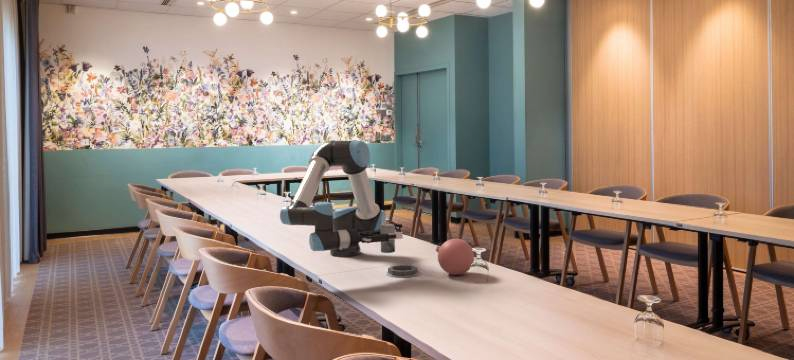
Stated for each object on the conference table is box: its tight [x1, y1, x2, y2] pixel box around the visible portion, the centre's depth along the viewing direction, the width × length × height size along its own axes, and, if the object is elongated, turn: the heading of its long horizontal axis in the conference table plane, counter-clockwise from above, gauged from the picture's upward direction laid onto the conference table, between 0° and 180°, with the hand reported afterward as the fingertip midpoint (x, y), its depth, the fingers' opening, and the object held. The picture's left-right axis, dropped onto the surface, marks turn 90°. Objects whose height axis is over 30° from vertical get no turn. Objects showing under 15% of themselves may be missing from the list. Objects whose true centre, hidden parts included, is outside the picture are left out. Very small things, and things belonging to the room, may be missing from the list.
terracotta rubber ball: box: [435, 238, 475, 276], centre depth 265 cm, size 15×20×15 cm
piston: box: [380, 223, 396, 254], centre depth 261 cm, size 6×6×11 cm
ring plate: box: [386, 264, 420, 279], centre depth 266 cm, size 14×14×2 cm
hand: (398, 233), depth 263 cm, fingers closed on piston, 6 cm apart
